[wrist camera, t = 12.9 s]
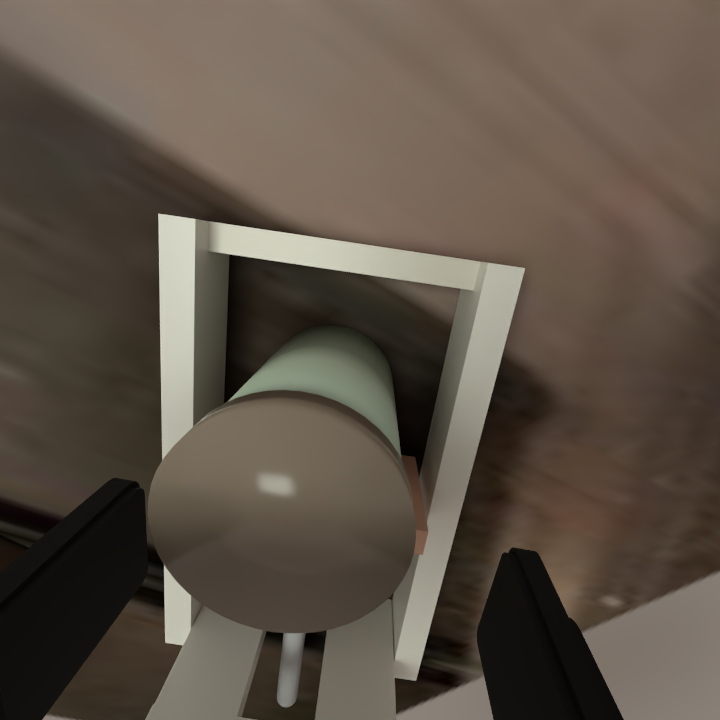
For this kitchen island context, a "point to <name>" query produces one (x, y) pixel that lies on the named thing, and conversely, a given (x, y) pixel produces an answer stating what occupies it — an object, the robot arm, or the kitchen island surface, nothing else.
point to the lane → (437, 476)
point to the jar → (292, 491)
